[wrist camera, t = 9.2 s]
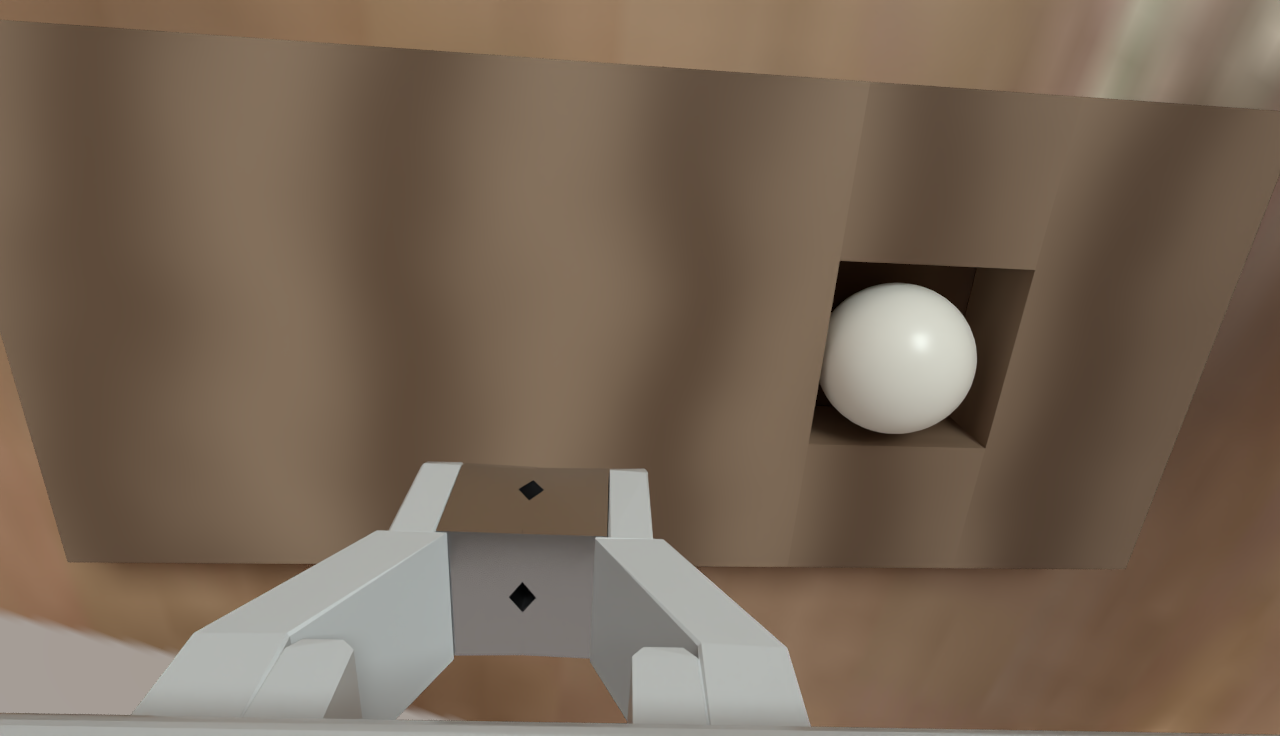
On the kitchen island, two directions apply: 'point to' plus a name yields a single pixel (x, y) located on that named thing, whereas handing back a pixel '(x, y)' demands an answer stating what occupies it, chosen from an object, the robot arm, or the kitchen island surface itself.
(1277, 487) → the kitchen island surface
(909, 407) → the ball
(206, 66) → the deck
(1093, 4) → the kitchen island surface
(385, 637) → the robot arm
